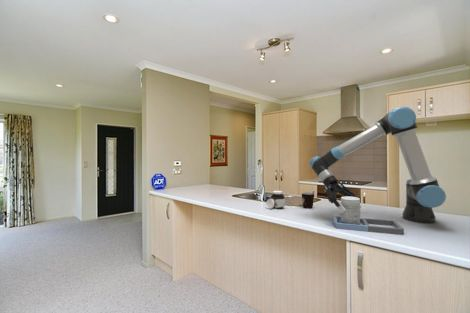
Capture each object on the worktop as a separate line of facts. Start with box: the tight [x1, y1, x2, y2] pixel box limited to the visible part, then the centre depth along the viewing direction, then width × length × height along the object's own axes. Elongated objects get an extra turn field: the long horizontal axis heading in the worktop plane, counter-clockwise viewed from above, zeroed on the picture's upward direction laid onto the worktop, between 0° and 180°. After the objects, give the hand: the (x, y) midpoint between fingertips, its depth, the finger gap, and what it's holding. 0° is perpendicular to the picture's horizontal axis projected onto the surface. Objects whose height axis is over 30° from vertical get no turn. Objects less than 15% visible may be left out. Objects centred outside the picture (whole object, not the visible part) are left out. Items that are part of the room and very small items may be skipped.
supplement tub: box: [340, 195, 361, 225], centre depth 127 cm, size 10×10×15 cm
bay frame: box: [332, 215, 405, 236], centre depth 125 cm, size 30×16×2 cm, turn 70°
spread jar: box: [265, 190, 286, 210], centre depth 167 cm, size 12×11×12 cm
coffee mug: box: [301, 192, 315, 210], centre depth 170 cm, size 12×9×10 cm
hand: (351, 210), depth 126 cm, fingers open, 13 cm apart
